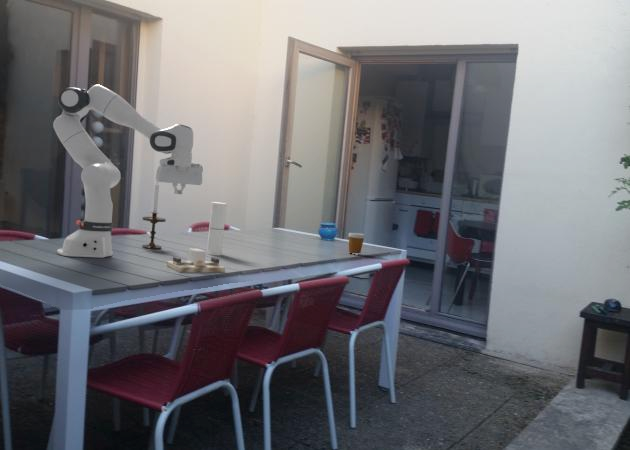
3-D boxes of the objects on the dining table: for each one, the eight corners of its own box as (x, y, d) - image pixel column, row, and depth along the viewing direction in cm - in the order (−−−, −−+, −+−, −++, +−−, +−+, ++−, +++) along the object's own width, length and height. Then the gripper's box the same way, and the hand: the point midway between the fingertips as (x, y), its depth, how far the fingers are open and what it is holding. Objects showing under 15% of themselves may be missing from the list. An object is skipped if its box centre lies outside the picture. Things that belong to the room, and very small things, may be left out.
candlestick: (166, 247, 321) (172, 176, 317) (158, 250, 310) (165, 176, 307) (144, 245, 322) (150, 174, 318) (136, 247, 311) (142, 174, 308)
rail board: (179, 272, 261) (180, 260, 260) (166, 265, 272) (167, 254, 272) (224, 272, 272) (225, 261, 272) (210, 265, 283) (211, 255, 283)
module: (194, 265, 267) (196, 251, 267) (187, 262, 274) (188, 248, 273) (204, 265, 270) (206, 251, 269) (197, 262, 276) (198, 248, 276)
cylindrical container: (210, 255, 313) (215, 203, 311) (204, 252, 319) (209, 201, 316) (224, 255, 317) (229, 204, 315) (217, 252, 323) (222, 202, 321)
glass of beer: (361, 256, 368) (364, 235, 366) (344, 254, 369) (347, 233, 368) (363, 254, 377) (366, 233, 376) (347, 252, 379) (349, 231, 378)
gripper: (200, 164, 293) (197, 194, 294) (156, 159, 281) (153, 191, 283) (206, 164, 288) (203, 196, 289) (161, 160, 276) (158, 193, 277)
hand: (178, 194), depth 286 cm, fingers closed
